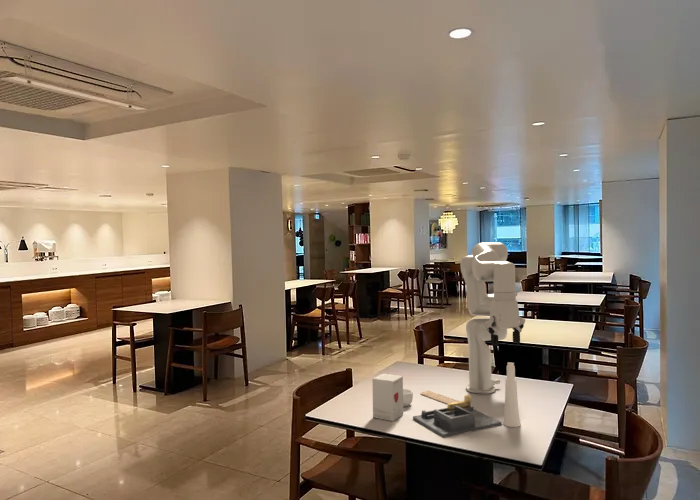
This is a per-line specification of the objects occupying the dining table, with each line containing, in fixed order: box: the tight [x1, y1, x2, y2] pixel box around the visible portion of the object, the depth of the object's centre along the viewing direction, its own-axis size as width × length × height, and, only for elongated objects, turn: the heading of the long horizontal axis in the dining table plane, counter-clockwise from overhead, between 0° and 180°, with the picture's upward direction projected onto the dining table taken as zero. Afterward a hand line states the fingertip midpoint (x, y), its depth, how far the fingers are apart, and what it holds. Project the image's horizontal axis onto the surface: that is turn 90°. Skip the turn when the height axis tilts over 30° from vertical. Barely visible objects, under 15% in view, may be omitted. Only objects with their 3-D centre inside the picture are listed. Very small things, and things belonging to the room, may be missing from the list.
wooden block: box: [446, 394, 472, 411], centre depth 188 cm, size 10×2×5 cm, turn 114°
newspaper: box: [420, 390, 460, 405], centre depth 204 cm, size 24×7×2 cm, turn 33°
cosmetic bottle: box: [502, 361, 522, 428], centre depth 175 cm, size 6×6×22 cm
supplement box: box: [371, 373, 404, 422], centre depth 186 cm, size 9×9×15 cm
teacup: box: [403, 388, 414, 407], centre depth 200 cm, size 10×8×5 cm
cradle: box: [412, 405, 503, 438], centre depth 179 cm, size 25×20×5 cm
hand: (505, 344), depth 176 cm, fingers open, 9 cm apart
